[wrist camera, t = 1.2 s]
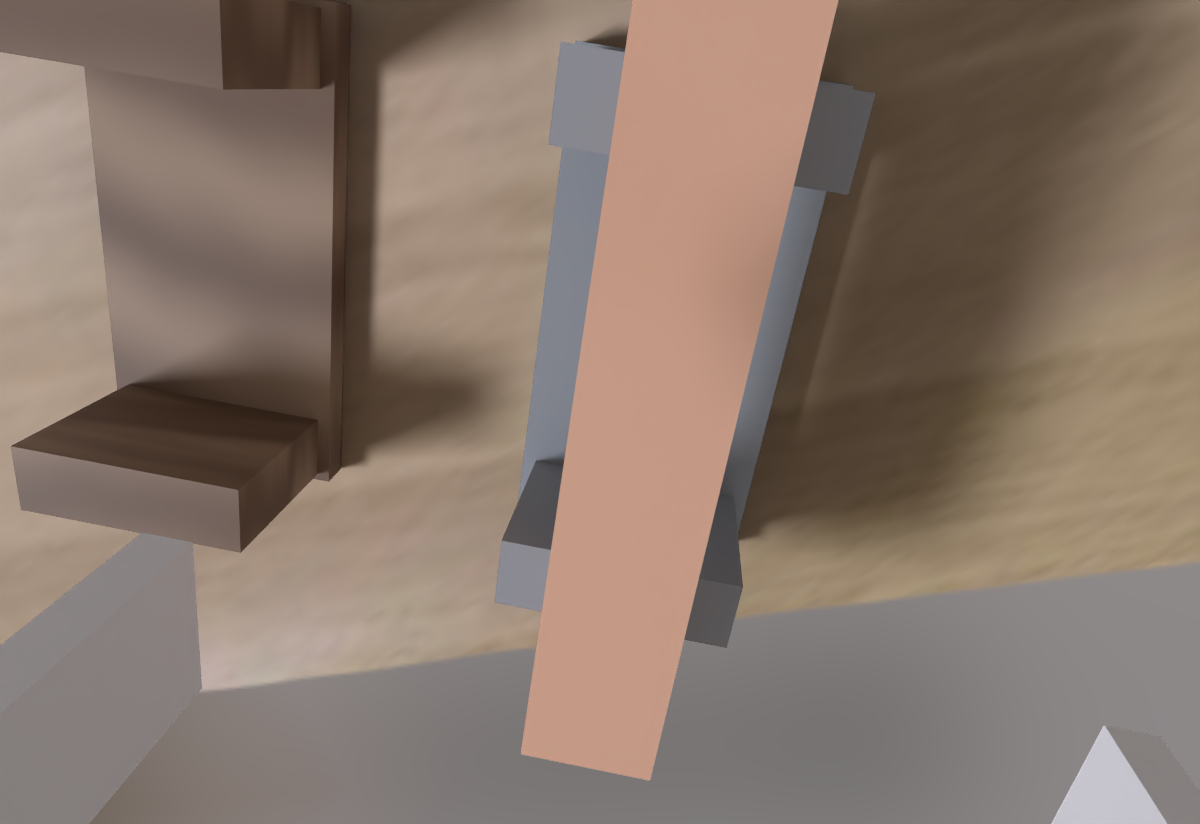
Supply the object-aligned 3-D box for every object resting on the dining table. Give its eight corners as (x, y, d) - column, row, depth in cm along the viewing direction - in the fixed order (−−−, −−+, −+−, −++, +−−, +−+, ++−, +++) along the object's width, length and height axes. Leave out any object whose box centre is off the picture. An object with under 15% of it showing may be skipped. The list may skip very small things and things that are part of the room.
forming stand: (580, 42, 26) (542, 27, 20) (847, 85, 26) (899, 85, 19) (522, 503, 33) (479, 605, 27) (730, 542, 33) (739, 656, 26)
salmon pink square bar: (654, -48, 19) (644, -80, 15) (819, -22, 19) (850, -48, 15) (543, 665, 28) (520, 754, 24) (656, 687, 27) (650, 780, 24)
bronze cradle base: (98, -36, 27) (-94, -77, 20) (350, 4, 27) (237, -22, 20) (141, 430, 34) (8, 513, 28) (340, 468, 34) (254, 561, 27)
